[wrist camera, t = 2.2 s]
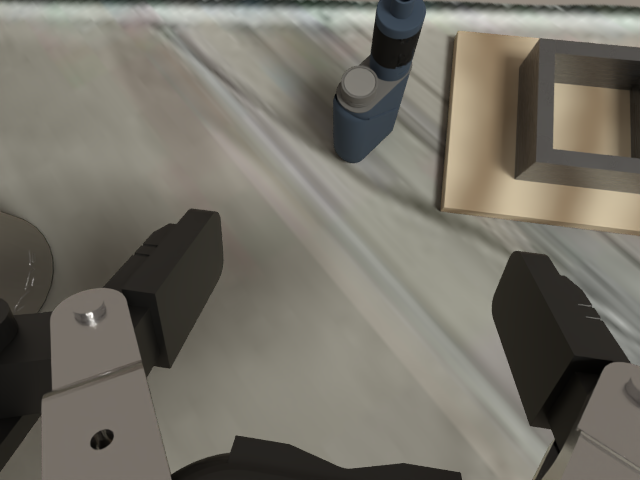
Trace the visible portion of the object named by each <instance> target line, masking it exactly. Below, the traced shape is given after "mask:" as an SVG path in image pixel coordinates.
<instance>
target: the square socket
mask: <svg viewBox="0 0 640 480" xmlns="http://www.w3.org/2000/svg"><path fill="white" fill-rule="evenodd" d="M554 83H561V84H570V85H580V86H590V87H600V88H610V89H620V90H630V128H631V158H630V157H621V156H612V155H603V154H594V153H585V152H576V151H567V150H558V149H553V125H554ZM514 180H523V181H531V182H540V183H548V184H557V185H565V186H574V187H583V188H591V189H600V190H608V191H617V192H625V193H634V194H640V48H638V47H627V46H617V45H606V44H595V43H585V42H574V41H563V40H553V39H542V38H540V39H539V40H538V41H537V43H536V44H535V46H534V47H533V48H532V50H531V51H530V53H529V54H528V55H527V57H526V58H525V60H524V61H523V62H522V64H521V65H520V67H519V80H518V104H517V128H516V152H515V176H514Z"/></svg>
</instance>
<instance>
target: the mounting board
mask: <svg viewBox="0 0 640 480" xmlns="http://www.w3.org/2000/svg"><path fill="white" fill-rule="evenodd" d="M539 39H540V38H530V37H519V36H508V35H498V34H487V33H476V32H466V31H458V32H457V35H456V37H455V39H454V49H453V61H452V73H451V86H450V98H449V110H448V123H447V135H446V148H445V160H444V172H443V185H442V197H441V209H440V211H442V212H450V213H458V214H466V215H474V216H482V217H491V218H499V219H507V220H515V221H523V222H531V223H539V224H547V225H556V226H564V227H572V228H580V229H588V230H596V231H604V232H613V233H621V234H629V235H637V236H640V194H634V193H625V192H617V191H608V190H600V189H591V188H583V187H574V186H565V185H557V184H548V183H540V182H531V181H523V180H514V176H515V152H516V128H517V104H518V80H519V67H520V65H521V64H522V62H523V61H524V60H525V58H526V57H527V55H528V54H529V53H530V51H531V50H532V48H533V47H534V46H535V44H536V43H537V41H538V40H539ZM553 149H558V150H567V151H576V152H585V153H594V154H603V155H612V156H621V157H630V158H631V128H630V90H620V89H610V88H600V87H590V86H580V85H570V84H561V83H554V125H553Z"/></svg>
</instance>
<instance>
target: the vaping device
mask: <svg viewBox="0 0 640 480" xmlns="http://www.w3.org/2000/svg"><path fill="white" fill-rule="evenodd" d="M425 14H426V7H425V4H424V2H423V0H380V1H379V2H378V5H377V9H376V17H375V24H374V32H373V39H372V47H371V54H370V56H368V57H367V58H366V59H365V60H364V61H363V62H362V63H361V64H360V65H359V66H354V67H351V68H350V69H348V70H347V71H346V72H345V73H344V75H343V77H342V80H341V82H340V83H339V85H338V87H337V93H336V94H335V96H334V100H333V138H334V148H335V150H336V153H337V154H338V155H339V156H340V157H341V158H342V159H343V160H345V161H347V162H350V163H357V162H360V161H361V160H363V159H364V158H365V157H366V156H367V155H368V154H369V153H370V152H371V151H372V150H373V149H374V148H375V147H376V146H377V145H378V144H379V143H380V142H381V141H382V140H383V139H384V138H385V137H386V136H388V135H389V134H390V133H391V131H392V130H393V127H394V124H395V120H396V117H397V114H398V110H399V107H400V104H401V100H402V97H403V94H404V90H405V87H406V83H407V80H408V77H409V73H410V71H411V68H412V59H413V56H414V52H415V49H416V46H417V42H418V39H419V35H420V32H421V29H422V25H423V22H424V18H425ZM414 48H415V49H414Z"/></svg>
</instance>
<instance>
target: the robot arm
mask: <svg viewBox="0 0 640 480" xmlns="http://www.w3.org/2000/svg"><path fill="white" fill-rule="evenodd" d="M222 268H223V245H222V232H221V219H220V215H219V213H218V212H215V211H207V210H199V209H189V210H188V211H187V212H186V214H185V215H184V216H183V217H182V218H181V219H180V221H179V222H178V223H177V224H168V225H166V226H164V227H162V228H160V229H159V230H157V231H155V232H153V233H152V235H151V236H150V237H149V238H148V239H147V240H146V241H145V242H144V243H143V246H141V247H140V248H139V249H138V250H137V251H136V252H135V255H132V256H131V257H130V259H129V260H128V261H127V262H126V263H125V264H124V265H123V266H122V267H121V268H120V269H119V271H118V272H117V273H116V274H115V275H114V276H113V277H112V278H111V279H110V280H109V281H108V283H107V284H106V285H105V286H104V287H103V288H95V289H89V290H85V291H82V292H79V293H76V294H74V295H72V296H70V297H68V298H67V299H65V300H63V301H62V302H61V303H60V304H59V305H58V306H57V307H56V308H55V309H54V311H53V312H44V313H38V311H39V309H40V308H41V306H42V304H43V303H44V301H45V299H46V297H47V294H48V292H49V289H50V286H51V281H52V275H53V260H52V256H51V252H50V248H49V246H48V244H47V242H46V240H45V238H44V236H43V235H42V234H41V233H40V232H39V231H38V230H37V228H36V227H34V226H33V225H31V224H30V223H28V222H27V221H25V220H23V219H20V218H17V217H14V216H11V215H8V214H6V213H3V212H0V471H1V470H2V469H3V467H4V466H5V464H6V463H7V462H8V460H9V459H10V457H11V456H12V455H13V453H14V452H15V450H16V449H17V448H18V446H19V445H20V444H21V442H22V441H23V439H24V438H25V437H26V435H27V434H28V432H29V431H30V430H31V428H32V427H33V425H34V424H35V423H36V421H37V420H38V418H39V417H40V416H41V414H42V480H462V477H461V473H460V472H454V471H448V470H442V469H436V468H430V467H424V466H418V465H412V464H406V463H401V464H391V465H382V466H372V467H363V468H353V469H346V468H341V467H339V466H336V465H334V464H332V463H330V462H328V461H325V460H323V459H321V458H319V457H317V456H314V455H312V454H310V453H308V452H305V451H303V450H301V449H299V448H297V447H294V446H292V445H290V444H285V443H279V442H273V441H267V440H261V439H255V438H248V437H242V436H235V440H234V443H233V446H232V449H231V452H230V453H225V454H219V455H215V456H211V457H207V458H204V459H201V460H199V461H196V462H193V463H191V464H189V465H187V466H185V467H183V468H181V469H179V470H178V471H176V472H175V473H173V474H171V472H170V468H169V464H168V460H167V456H166V452H165V449H164V445H163V441H162V437H161V433H160V429H159V425H158V421H157V417H156V413H155V409H154V405H153V401H152V397H151V393H150V389H149V386H148V382H147V376H148V374H149V373H150V371H151V369H152V368H153V366H158V367H164V368H171V366H172V364H173V363H174V361H175V359H176V357H177V355H178V353H179V352H180V350H181V348H182V346H183V344H184V342H185V341H186V339H187V337H188V335H189V333H190V331H191V330H192V328H193V326H194V324H195V322H196V320H197V319H198V317H199V315H200V313H201V311H202V309H203V308H204V306H205V304H206V302H207V300H208V298H209V297H210V295H211V293H212V291H213V289H214V287H215V286H216V284H217V282H218V280H219V278H220V276H221V272H222ZM492 316H493V320H494V322H495V325H496V328H497V331H498V334H499V337H500V340H501V343H502V346H503V349H504V352H505V355H506V357H507V360H508V363H509V366H510V369H511V372H512V375H513V378H514V381H515V384H516V387H517V390H518V392H519V395H520V398H521V401H522V404H523V407H524V410H525V413H526V416H527V419H528V422H529V425H530V426H533V427H540V428H546V429H551V430H552V432H553V435H554V440H553V441H552V442H551V444H550V445H549V447H548V449H547V451H546V453H545V455H544V457H543V459H542V461H541V463H540V465H539V467H538V469H537V471H536V473H535V475H534V477H533V479H532V480H640V366H637V365H634V364H631V363H630V361H629V360H628V358H627V357H626V355H625V354H624V352H623V351H622V349H621V348H620V346H619V345H618V343H617V342H616V340H615V339H614V337H613V336H612V334H611V333H610V331H609V330H608V328H607V327H606V325H605V324H604V322H603V321H600V316H599V315H598V313H597V312H596V310H595V309H594V308H592V304H591V303H590V301H589V300H588V298H587V297H586V295H585V294H584V292H583V291H582V290H581V289H580V288H579V287H578V286H577V285H575V284H574V283H573V282H572V281H571V280H569V279H568V278H567V277H566V276H561V275H560V274H559V273H558V271H557V269H556V268H555V266H554V265H553V263H552V261H551V260H550V258H549V257H548V256H547V255H545V254H537V253H529V252H521V251H515V252H513V253H512V254H511V256H510V258H509V260H508V262H507V265H506V267H505V270H504V272H503V274H502V277H501V279H500V282H499V284H498V286H497V289H496V291H495V294H494V297H493V301H492Z"/></svg>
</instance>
